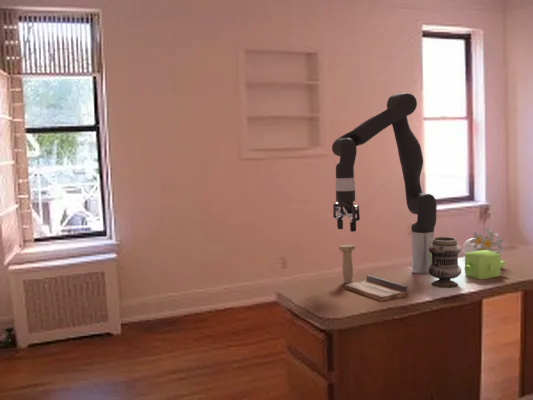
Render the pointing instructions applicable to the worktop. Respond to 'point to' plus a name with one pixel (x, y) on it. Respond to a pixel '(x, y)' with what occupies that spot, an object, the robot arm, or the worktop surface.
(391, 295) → the board
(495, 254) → the gearbox
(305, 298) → the worktop surface
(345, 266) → the handle
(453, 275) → the apothecary jar
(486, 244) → the flower vase
